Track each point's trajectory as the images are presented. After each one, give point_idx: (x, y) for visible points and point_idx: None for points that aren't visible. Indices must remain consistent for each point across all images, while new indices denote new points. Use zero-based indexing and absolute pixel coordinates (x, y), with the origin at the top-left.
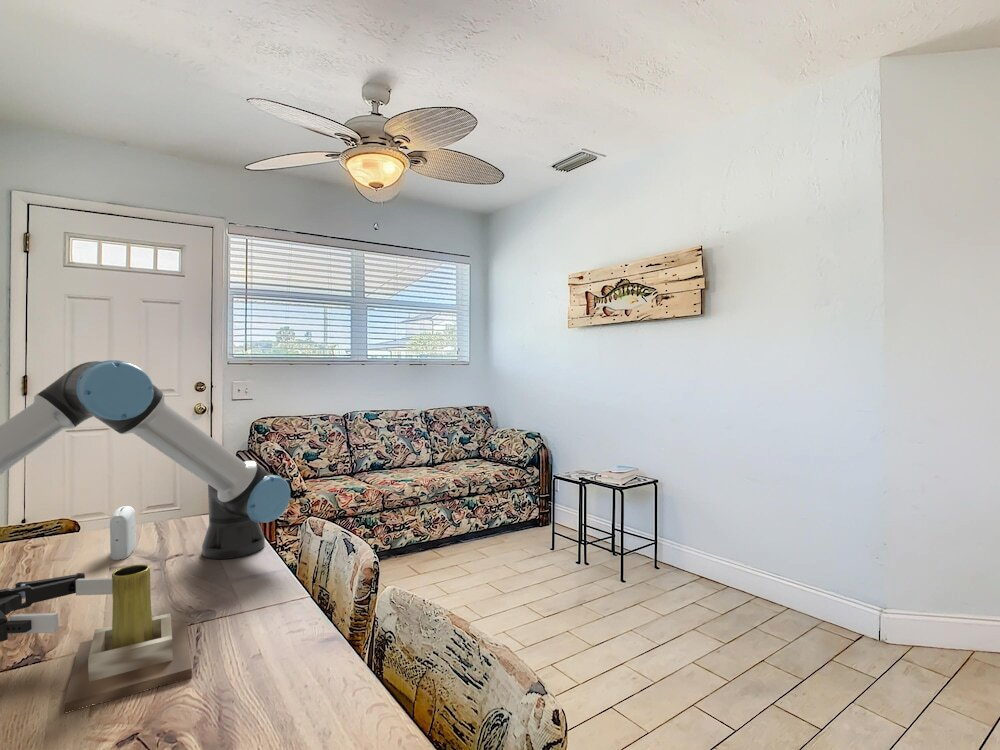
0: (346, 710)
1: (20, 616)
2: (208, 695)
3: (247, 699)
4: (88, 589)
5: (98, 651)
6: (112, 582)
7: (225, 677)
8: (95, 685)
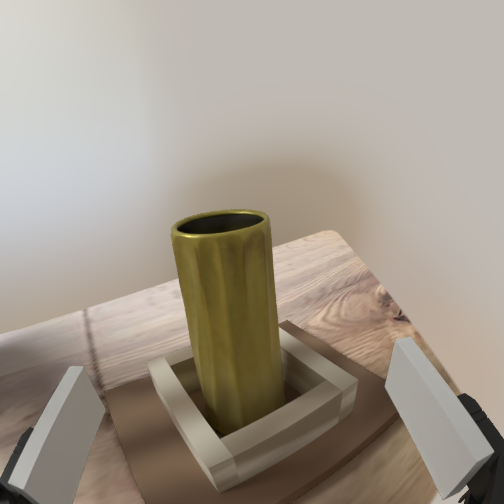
0: (315, 246)
1: (471, 419)
2: (319, 305)
3: (318, 282)
4: (66, 470)
5: (325, 385)
6: (246, 261)
7: (282, 307)
8: (358, 394)
